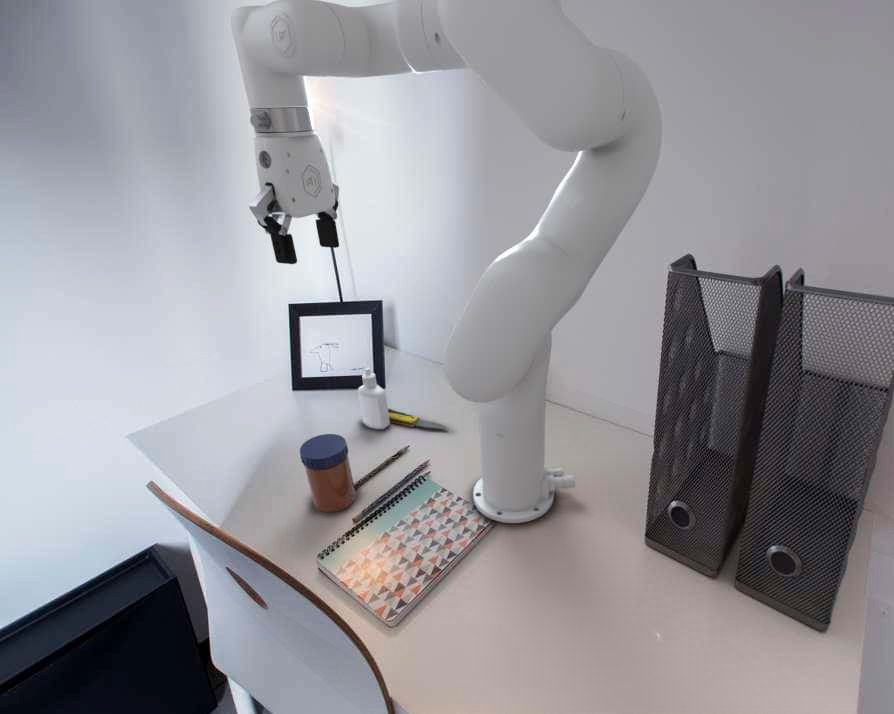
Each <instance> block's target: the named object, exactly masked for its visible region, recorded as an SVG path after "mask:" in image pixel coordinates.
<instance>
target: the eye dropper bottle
mask: <svg viewBox="0 0 894 714" xmlns="http://www.w3.org/2000/svg"><path fill="white" fill-rule="evenodd" d="M364 370H365V373H363V374H362V376H361V377H362V378H361V380H362V385H361V386H359V387H358V388H357V396H358V402H359V408H360V413H361V419H362V422H363V424H364V425H365V426H367V427H368V428H371V429H374V430H384V429H386V428H388V427H389V426H390V424H391V421H390V420H389V414H388V409H389V408H388V402H387V396H386V392H385V390H384V388H382V387H381V386H380V385H379V384H378V383H377V377H376V373H374V372H371V368H369V367H366V368H365V369H364Z"/></svg>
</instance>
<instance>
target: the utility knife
mask: <svg viewBox="0 0 894 714" xmlns="http://www.w3.org/2000/svg"><path fill="white" fill-rule="evenodd" d="M388 414H389V420H390V423H394V424H398V425H403V426H408V427H412V428H413V427H416V428H418V427H420V428H424V429H438V430H439V429H440V430H449V427H447V426H446V425H445V424H444V425H443V424H442V423H438V422H434V421H432V420H431V421H430V420H427V419H426V420H425V419H421V418H420V417H418V416H415V415H411V414H407V413H405V412H400V411H396V410H395V409H390V408H388Z"/></svg>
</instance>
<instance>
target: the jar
mask: <svg viewBox="0 0 894 714" xmlns="http://www.w3.org/2000/svg"><path fill="white" fill-rule="evenodd" d="M304 469H305V473H306V477H307V481H308V486H309V489H310V493H311V497H312V501H313V504H314V507H315V509H317V510H318V511H320V512H325V513H335V512H340V511H342V510H344V509H346V508H348V507H349V506H350V505H352V504H353V502H355V500H356V497H357V493H356V489H355V483H354V478H353V475H352V468H351V464H350V459H349V455H348V456H347V457H346V459H345V460H344V461H342V462H341V463H340V464H338V465H336V466H334V467H331V468H327V469H310V468H308V467H306V466H304Z"/></svg>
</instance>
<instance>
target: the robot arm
mask: <svg viewBox="0 0 894 714" xmlns="http://www.w3.org/2000/svg"><path fill="white" fill-rule="evenodd" d="M230 24H231V31H232V34H233V35H232V36H233V39H234V43H235V49H236V52H237V57H238V61H239V62H238V63H239V67H240V70H241V75H242V80H243V86H244V89H245V92H246V98H247V102H248V107H249V111H250V117H249V122H250V124H251V126H253V129H254V134H255V137H254V155H255V164H256V166H255V167H256V172H257V178H258V185H259V189H260V191H259V192H258V194H257V195H256V196H255V197H254V198H253V199H252V201H251V202H250V203H249V207H248V208H249V210H250V212H251V213H252V215H253V216H254V217H255V219H256V221H257V223H258V225H259V226H260V227H261V228H263V230H264V231H265V233H266V235H269V236H270V240H271V244H272V248H273V252H274V257H275V261H276V263H278V264H284V265H285V264H286V265H295V264H297V263H298V258H297V253H296V248H295V243H294V238H293V234H292V233H288V231H289V229H290V225H291V222H292V219H300V218H305V217H309V216H312V215H315V216H316V217H317V218H318V219H315V226H316V230H317V231H316V232H317V237H318V240H319V241H318V242H319V246H320V247H322V248H334V249H337V248H339V247H340V241H339V235H338V228H337V223H336V220H338V219H337V218H338V213H337V211H338V208H339V201H338V199H339V195H340V187H339V186H338V185H337V184H335V183H334V182H333V180H332V179H333V178H332V174H331V171H330V166H329V162H328V159H327V156H326V152H325V148H324V146H323V143H322V140H321V138H320V134H319V133H316V127H315V123H314V118H313V117H314V116H313V110H312V103H311V99H310V92H309V87H308V82H307V77H318V78H319V77H320V78H321V77H322V78H326V77H329V78H330V77H331V78H332V77H333V78H334V77H335V78H345V79H347V78H349V79H350V78H351V79H357V78H359V79H360V78H372V77H383V76H394V75H405V74H412V73H415V74H418V75H420V74H424V73H433V72H434V73H435V72H443V71H453V70H463V69H471V70H472V72H474V74H475V75H476V76H477V77H478V78H479V79H480V80H481V81H482V82H483V83H484V84H485V85H486V87H488V89H490V91H491V92H492V93H493V94H494V95H495V96H496V97H497V98H498V99H499V101H501V102H502V103H503V104H504V105H505V107H507V109H508V110H510V111H511V113H512V114H513V115H514V117H516V118H517V119H518V120H519V121H520V122H521V123H522V124H523V125H524V126H525V127H526V129H527V130H529V131H530V133H532V134H533V135H534V136H535V137H536V138H537V139H539V141H541V142H542V143H544V144H545V145H547V146H549V147H551V148H553V149H555V150H558V151H561V152H567V153H577V152H578V154H577V156H576V157H575V160H574V162H573V164H572V166H571V167H570V169H569V170H568V172H567V174H566V175H565V176H564V178H563V179H562V181H561V182H560V183H559V185H558V187H557V188H556V190H555V192H554V193H553V196H552V198H551V200H550V201H549V203H548V205H547V207H546V209H545V210H544V212H543V214H542V216H541V217H540V219H539V221H538V222H537V224H536V225H535V227H534V229H533V230H532V231H531V233H530V234H529V235H528V236H527V237H525V239H523V240H522V241H520V242H519V243H517V244H515V245H514V246H512V247H511V248H509V249H507V250H505V251H504V252H503V253H501V254H500V255H498V256H497V257H496V258H495V259H494V260H493V261H492V262H491V263H490V265H489V266H488V267H487V268H486V269H485V271H484V272H483V274H482V275H481V277H480V278H479V279H478V282H477V283H476V286H475V287H474V289H473V291H472V293H471V295H470V297H469V298H468V301H467V303H466V305H465V306H464V308H463V310H462V313H461V314H460V315H459V318H458V320H457V321H456V324H455V325H454V327H453V329H452V331H451V333H450V335H449V337H448V339H447V342H446V344H445V347H444V352H443V357H442V358H443V359H442V363H443V364H442V365H443V371H444V376H445V378H446V381H447V383H448V385H449V386H450V387H451V389H452V390H453V391H454V392H455V393H456V394H457V395H458V396H460V397H461V398H463V399H464V400H466V401H469V402H473V403H478V404H477V405H478V425H479V428H478V429H479V444H480V462H481V463H480V464H481V477H480V478H479V479H478V480H477V482H476V484H474V487H473V491H472V499H473V502H474V506H475V507H476V509H477V511H479V512H480V513H481V514H482V515H483V516H485V517H487V518H488V519H491V520H494V521H496V522H500V523H505V524H521V523H527V522H530V521H533V520H536V519H538V518H540V517H542V516H543V515H545V514H546V513H547V512H548V511H549V510H550V509H551V507H552V505H553V503H554V500H555V499H554V498H555V492H556V490H557V489H558V490H559V489H571V488H572V489H573V488H576V479H575V476H574V475H573V474H568V475H564V469H563V467H557V468H552V469H548V467H545V453H546V451H545V450H546V449H545V448H546V447H545V446H546V409H547V407H546V406H547V403H546V402H547V386H548V376H549V375H548V374H549V369H550V368H549V367H550V361H551V353H552V345H553V343H552V340H553V339H552V338H553V337H552V331H553V330H554V328H555V327H556V326H557V324H558V323H559V322H560V321H561V320H562V319H563V318H564V317H565V316H566V315H567V314H568V313H569V312H570V310H572V309H573V307H574V306H575V305H576V304H577V303H578V301H579V300H580V299H581V298H582V295H583V294H584V292H585V290H586V288H587V286H588V285H589V283H590V281H591V280H592V278H593V276H594V275H595V273H596V272H597V269H599V267H600V265H602V262H603V261H604V259H605V258H606V256H607V255H608V254H609V252H610V251H611V249H612V248H613V246H614V245H615V243H616V241H617V239H618V238H619V236H620V234H621V233H622V231H623V230H624V228H625V227H626V225H627V223H628V222H629V221H630V219H631V217H632V216H633V214H634V213H635V212H636V209H637V208H638V206H639V205H640V203H641V201H642V199H643V198H644V196H645V195H646V192H647V190H648V188H649V186H650V184H651V182H652V181H653V180H652V179H653V178H654V175H655V171H656V170H657V166H658V162H659V158H660V153H661V147H662V139H663V120H662V113H661V108H660V105H659V101H658V98H657V95H656V92H655V90H654V87H653V85H652V83H651V81H650V80H649V78H648V76H647V74H646V73H645V71H644V70H643V68H642V67H641V66H640V65H639V64H638V63H637V62H636V61H635V60H633V59H632V58H631V57H629V56H628V55H627V54H625V53H623V52H621V51H619V50H617V49H612V48H609V47H604V46H603V47H602V46H598V45H596V44H595V43H593V42H592V40H590V38H589V37H587V35H586V34H585V33H584V32H583V31H582V30H581V29H580V28H579V27H578V26H577V25H576V24H575V23H574V22H573V21H572V20H571V19H570V18H569V17H568V16H567V15H566V14H565V13H564V12H563V11H562V5H561V0H392V1H389V2H385V3H384V2H383V3H378V4H371V5H363V6H346V5H342V4H338V3H334V2H329V1H324V0H273V1H271V2H269V3H267V4H265V5H245V6H240V7H237V8H235V9H233V11H232V13H231V15H230ZM279 219H280V222H278V221H279Z"/></svg>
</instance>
